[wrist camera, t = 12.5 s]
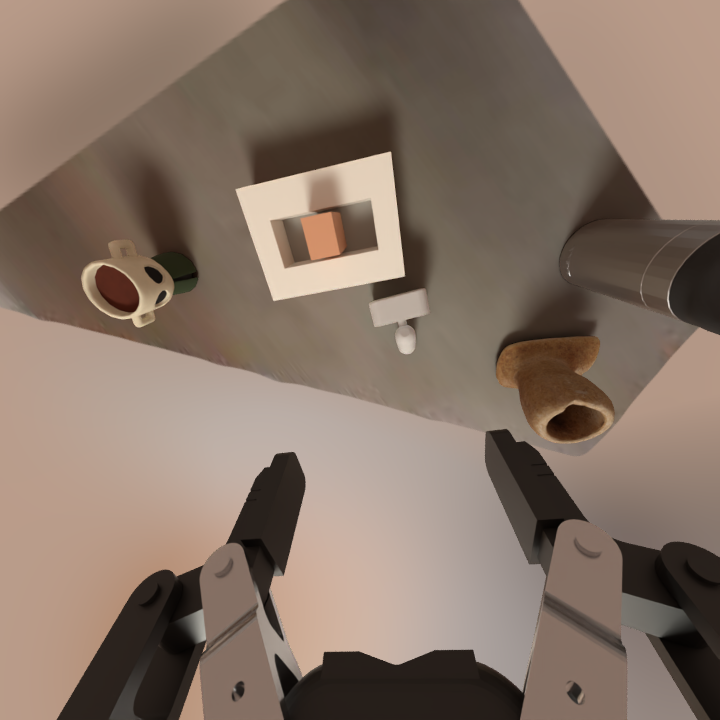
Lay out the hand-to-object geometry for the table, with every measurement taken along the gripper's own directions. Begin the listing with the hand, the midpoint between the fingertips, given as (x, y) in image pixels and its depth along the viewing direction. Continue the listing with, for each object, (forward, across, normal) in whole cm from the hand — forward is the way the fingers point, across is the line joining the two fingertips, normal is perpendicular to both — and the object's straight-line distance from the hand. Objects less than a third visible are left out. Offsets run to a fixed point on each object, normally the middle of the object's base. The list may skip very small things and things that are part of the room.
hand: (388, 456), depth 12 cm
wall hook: (+36, -3, +7) cm, 37 cm away
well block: (+36, +6, -8) cm, 37 cm away
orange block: (+35, +5, -8) cm, 37 cm away
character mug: (+36, +31, -7) cm, 48 cm away
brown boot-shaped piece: (+36, -26, +20) cm, 49 cm away
